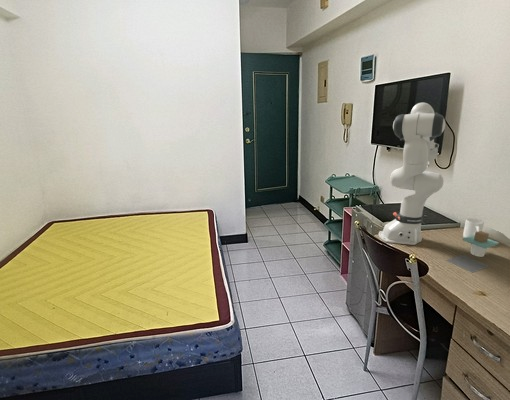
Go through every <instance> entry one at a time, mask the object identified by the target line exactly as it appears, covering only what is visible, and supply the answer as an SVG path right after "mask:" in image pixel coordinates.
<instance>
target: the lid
mask: <svg viewBox="0 0 510 400" xmlns="http://www.w3.org/2000/svg"><path fill="white" fill-rule="evenodd" d="M489 235H490V234H489V233H487V232H484V231H483V230H482V231H479V232H475V235H473V236H470V237H466V238H464V237H463V238H462V239H461V240H462V241H463V242H466V243H469V244H474V245H477V246H479V247H482V248H484V249H486V248H487V249H488V248H491V247H494V246H497V245H500V242H499V241H497V240H496V241H495V240H493V239H490V238H489ZM487 249H486V250H487Z"/></svg>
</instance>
